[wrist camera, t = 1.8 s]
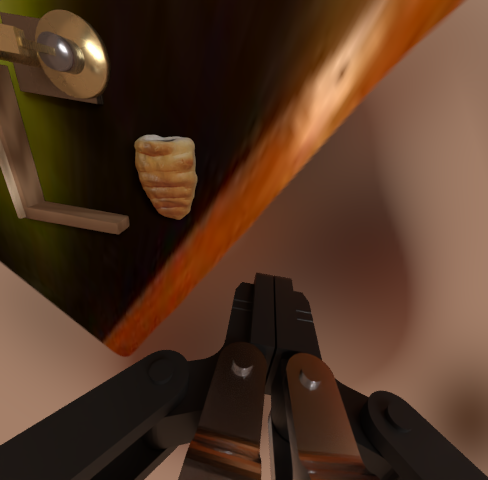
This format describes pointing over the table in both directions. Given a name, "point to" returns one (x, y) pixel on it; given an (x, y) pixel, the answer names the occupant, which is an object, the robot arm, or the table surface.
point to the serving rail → (26, 179)
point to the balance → (56, 55)
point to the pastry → (167, 173)
